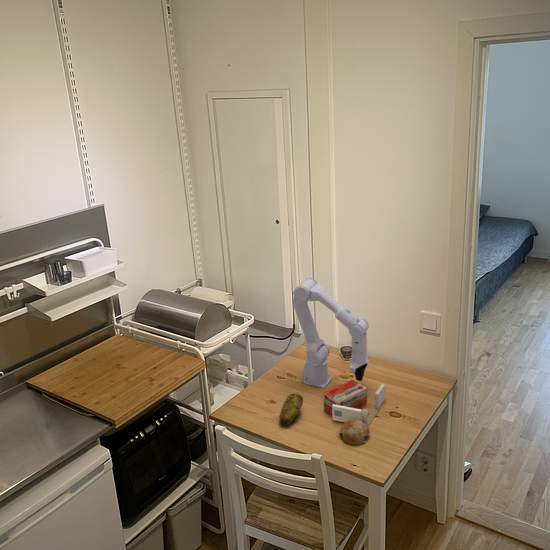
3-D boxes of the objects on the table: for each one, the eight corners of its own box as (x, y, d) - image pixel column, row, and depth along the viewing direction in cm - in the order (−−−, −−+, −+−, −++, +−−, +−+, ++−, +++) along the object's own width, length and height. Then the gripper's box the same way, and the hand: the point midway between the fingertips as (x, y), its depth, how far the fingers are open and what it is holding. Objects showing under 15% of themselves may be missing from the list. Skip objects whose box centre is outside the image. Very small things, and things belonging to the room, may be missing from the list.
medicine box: (337, 420, 213) (337, 402, 210) (323, 411, 219) (322, 393, 217) (367, 405, 221) (367, 387, 218) (352, 396, 228) (352, 378, 225)
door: (360, 425, 208) (360, 411, 206) (332, 420, 213) (332, 406, 210) (361, 423, 210) (361, 409, 207) (333, 418, 214) (333, 404, 212)
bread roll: (356, 456, 199) (366, 441, 195) (332, 438, 202) (340, 423, 198) (368, 440, 207) (377, 425, 203) (344, 422, 210) (352, 408, 206)
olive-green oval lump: (270, 421, 215) (269, 402, 212) (294, 406, 223) (293, 388, 221) (287, 429, 210) (286, 411, 207) (310, 413, 218) (309, 395, 215)
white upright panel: (360, 427, 208) (360, 411, 206) (380, 398, 225) (380, 382, 223) (366, 428, 207) (366, 412, 205) (386, 399, 224) (386, 384, 222)
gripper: (361, 360, 217) (361, 391, 221) (375, 343, 228) (375, 373, 233) (344, 356, 220) (344, 387, 225) (358, 340, 232) (359, 369, 236)
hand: (359, 380), depth 229 cm, fingers closed
